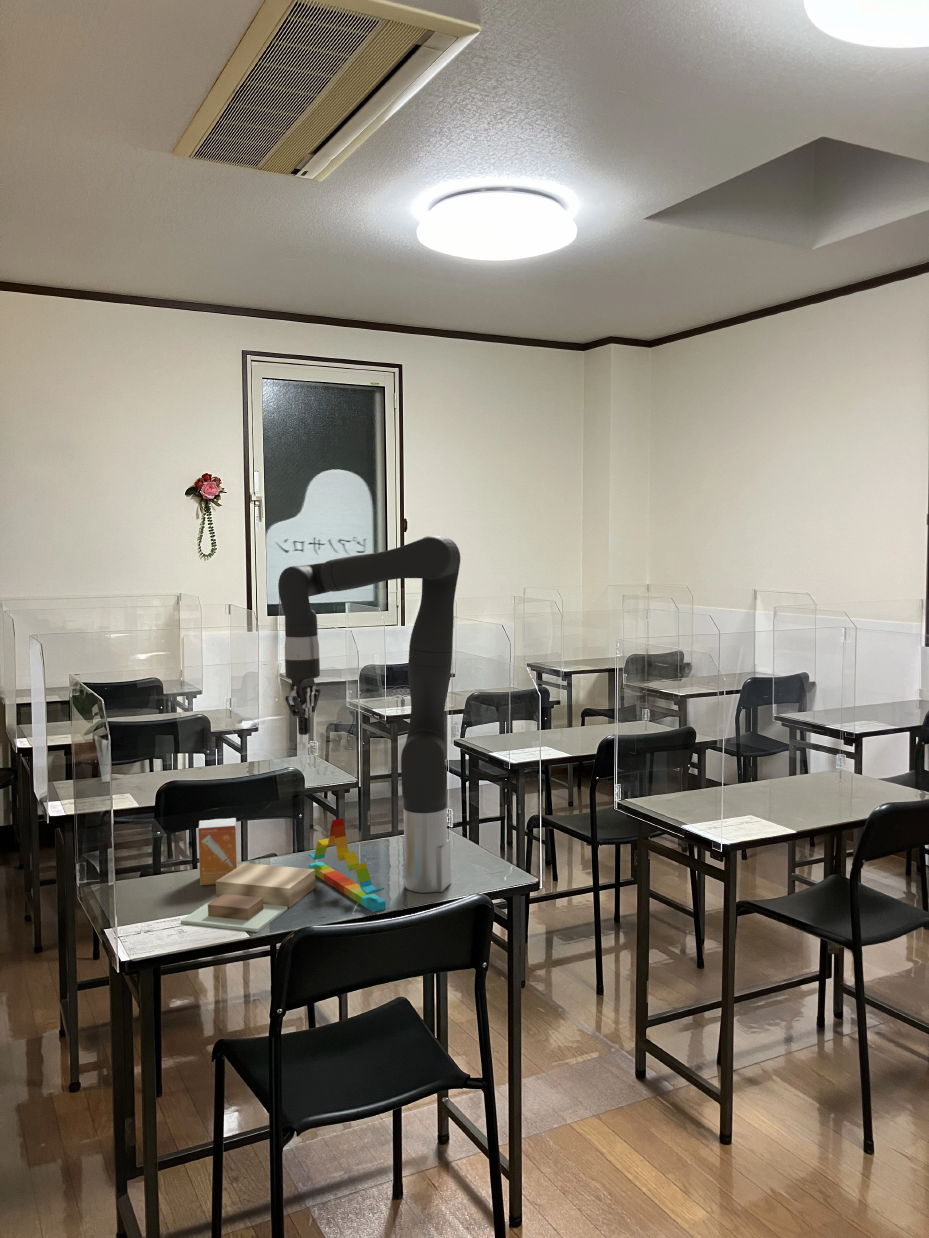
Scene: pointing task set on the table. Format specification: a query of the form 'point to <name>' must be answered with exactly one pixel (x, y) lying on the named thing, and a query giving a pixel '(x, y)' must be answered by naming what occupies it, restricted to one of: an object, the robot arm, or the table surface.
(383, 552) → the robot arm
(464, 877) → the table surface
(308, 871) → the birch deck
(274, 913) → the sage mat
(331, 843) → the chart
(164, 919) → the table surface
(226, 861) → the small box
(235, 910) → the walnut tile
